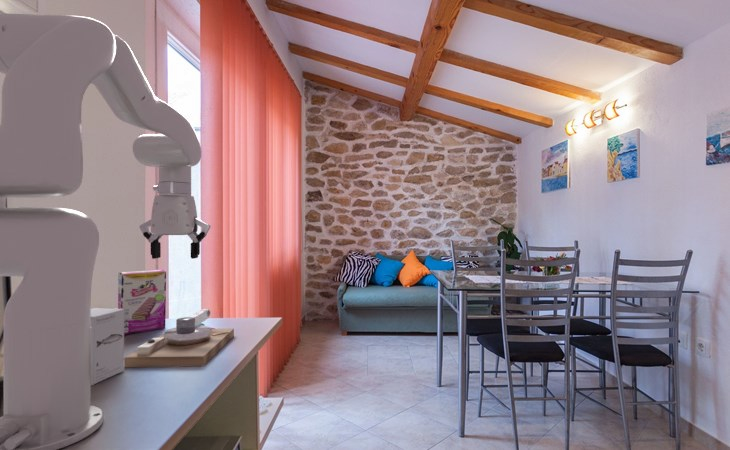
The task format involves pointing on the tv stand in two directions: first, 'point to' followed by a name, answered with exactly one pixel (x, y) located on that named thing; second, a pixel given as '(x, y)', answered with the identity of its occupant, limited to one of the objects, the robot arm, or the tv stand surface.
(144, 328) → the candy bar box
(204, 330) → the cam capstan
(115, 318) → the supplement box
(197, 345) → the wooden cutting board
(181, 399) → the tv stand surface
